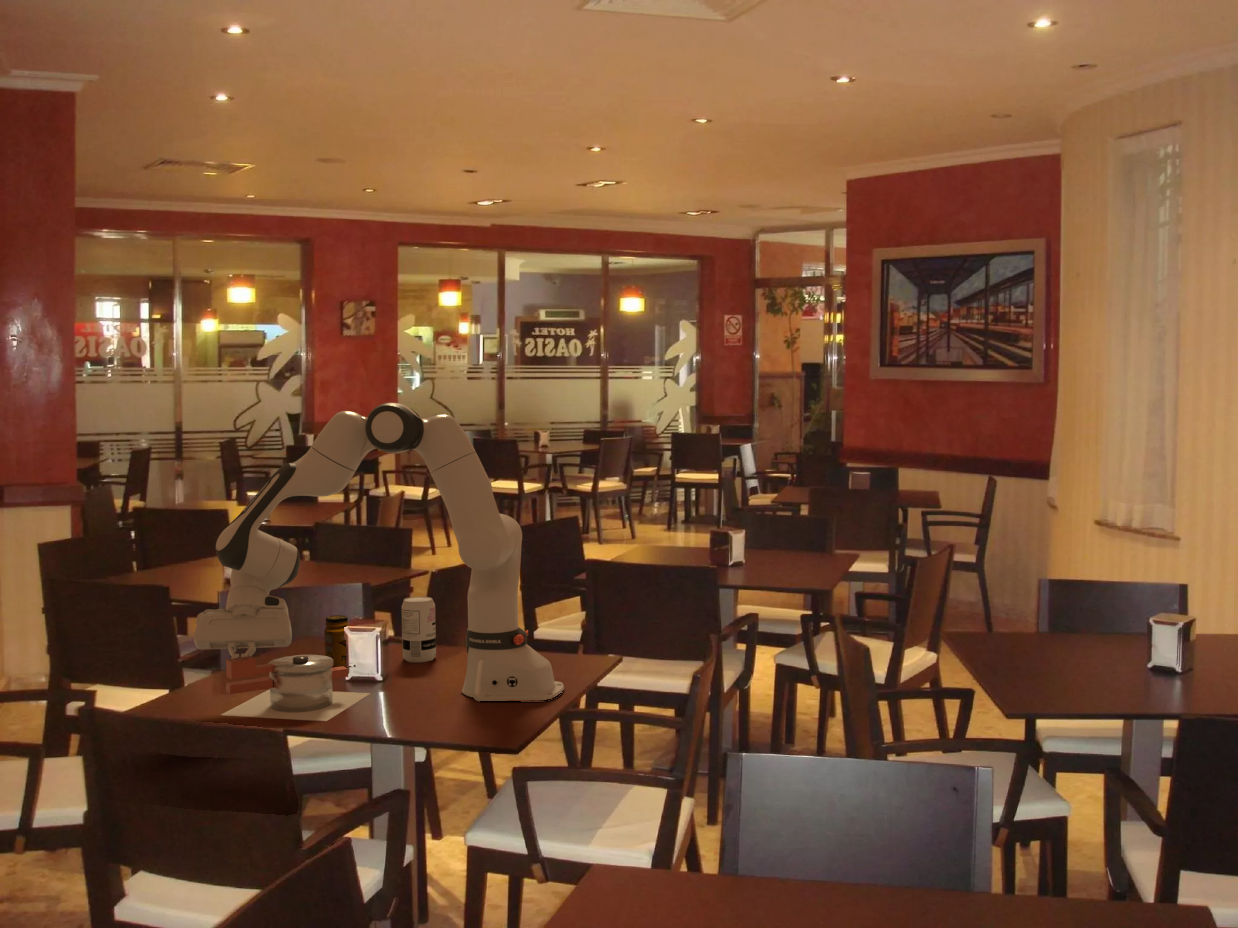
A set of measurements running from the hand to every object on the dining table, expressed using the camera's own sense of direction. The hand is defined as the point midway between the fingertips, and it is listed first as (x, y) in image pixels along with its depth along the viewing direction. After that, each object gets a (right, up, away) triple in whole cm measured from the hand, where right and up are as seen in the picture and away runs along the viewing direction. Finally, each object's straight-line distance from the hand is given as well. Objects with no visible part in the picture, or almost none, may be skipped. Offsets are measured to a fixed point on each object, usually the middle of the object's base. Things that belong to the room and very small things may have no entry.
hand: (239, 663), depth 271 cm
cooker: (+10, -9, +2) cm, 14 cm away
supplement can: (+31, -6, +45) cm, 55 cm away
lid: (+9, -1, 0) cm, 9 cm away
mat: (+11, -10, +3) cm, 15 cm away
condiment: (+11, -7, +39) cm, 41 cm away
